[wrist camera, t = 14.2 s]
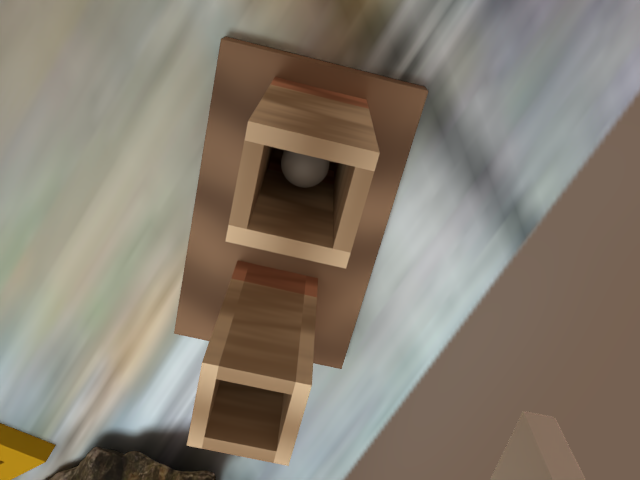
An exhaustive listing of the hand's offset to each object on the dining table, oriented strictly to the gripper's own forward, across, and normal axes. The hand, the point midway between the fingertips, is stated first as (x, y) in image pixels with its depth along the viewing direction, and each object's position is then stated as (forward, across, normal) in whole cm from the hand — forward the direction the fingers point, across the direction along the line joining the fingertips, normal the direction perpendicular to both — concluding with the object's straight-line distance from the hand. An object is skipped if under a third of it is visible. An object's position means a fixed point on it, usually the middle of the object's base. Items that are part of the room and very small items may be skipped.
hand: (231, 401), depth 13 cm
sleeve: (+23, +1, 0) cm, 23 cm away
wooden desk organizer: (+25, +1, -6) cm, 25 cm away
